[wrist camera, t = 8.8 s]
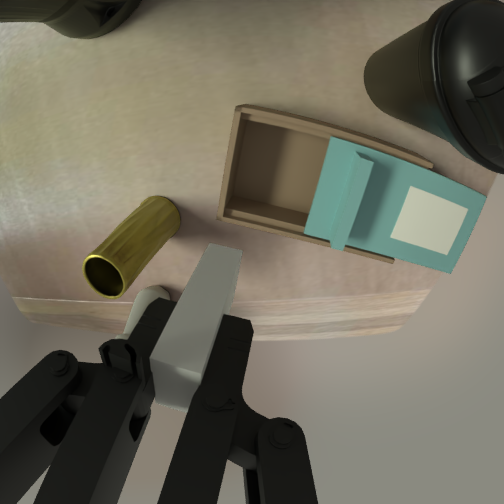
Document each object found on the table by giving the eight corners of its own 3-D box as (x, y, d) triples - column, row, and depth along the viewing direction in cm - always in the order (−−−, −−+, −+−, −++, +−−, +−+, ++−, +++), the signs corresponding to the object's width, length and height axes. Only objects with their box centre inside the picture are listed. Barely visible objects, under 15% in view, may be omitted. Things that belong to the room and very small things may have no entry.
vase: (187, 208, 37) (135, 270, 25) (172, 244, 40) (124, 312, 28) (146, 187, 37) (81, 239, 24) (135, 225, 40) (76, 284, 28)
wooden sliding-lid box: (245, 103, 30) (235, 106, 25) (416, 153, 29) (433, 164, 25) (227, 202, 36) (216, 219, 32) (382, 241, 35) (392, 264, 31)
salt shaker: (152, 274, 44) (111, 333, 32) (182, 296, 45) (150, 360, 34) (137, 294, 46) (99, 351, 35) (165, 315, 48) (133, 375, 36)
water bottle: (454, 97, 25) (609, 140, 5) (393, 142, 29) (519, 237, 10) (402, 24, 22) (533, -36, 2) (336, 70, 26) (413, 27, 7)
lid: (330, 135, 26) (335, 141, 23) (483, 194, 26) (500, 207, 22) (303, 230, 32) (303, 247, 28) (448, 270, 31) (459, 288, 28)
